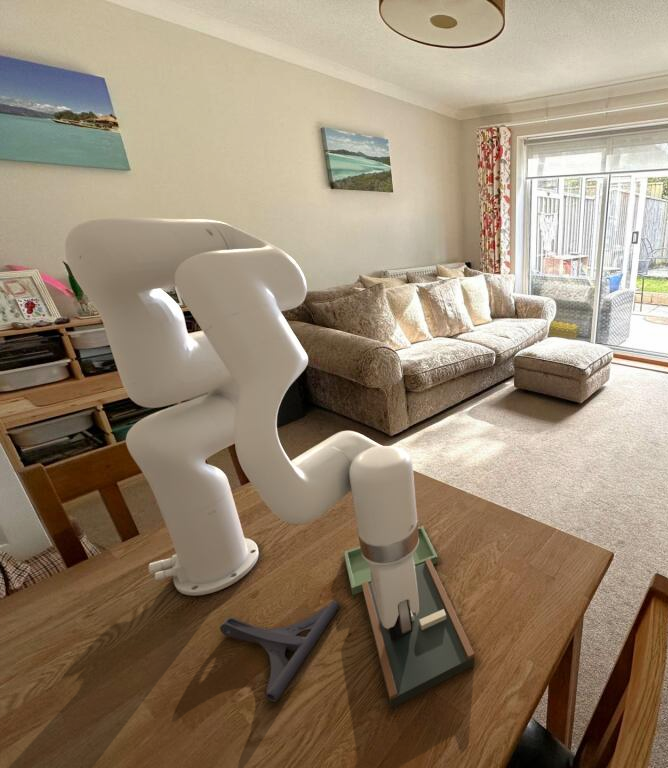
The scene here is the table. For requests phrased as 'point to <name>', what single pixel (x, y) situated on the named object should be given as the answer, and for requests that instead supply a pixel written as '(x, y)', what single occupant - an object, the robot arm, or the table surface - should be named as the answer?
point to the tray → (361, 568)
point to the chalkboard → (420, 642)
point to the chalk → (432, 619)
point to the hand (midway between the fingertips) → (400, 631)
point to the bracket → (283, 644)
